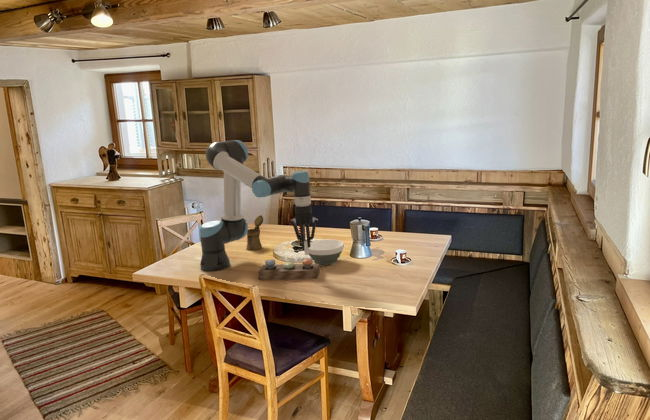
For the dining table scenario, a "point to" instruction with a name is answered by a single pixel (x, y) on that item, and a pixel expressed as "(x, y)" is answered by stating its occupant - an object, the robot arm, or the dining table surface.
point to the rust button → (307, 263)
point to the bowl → (325, 251)
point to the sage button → (289, 265)
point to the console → (289, 272)
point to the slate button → (270, 264)
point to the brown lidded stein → (254, 235)
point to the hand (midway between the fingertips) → (306, 253)
